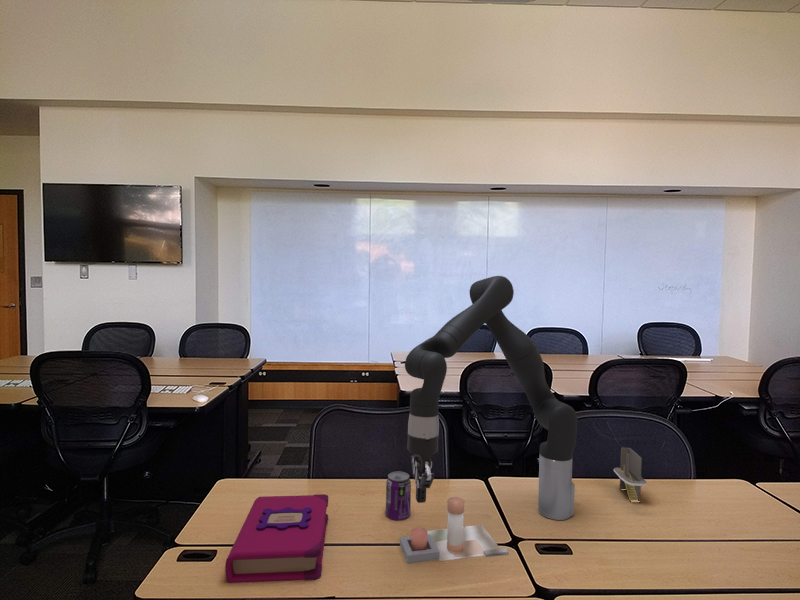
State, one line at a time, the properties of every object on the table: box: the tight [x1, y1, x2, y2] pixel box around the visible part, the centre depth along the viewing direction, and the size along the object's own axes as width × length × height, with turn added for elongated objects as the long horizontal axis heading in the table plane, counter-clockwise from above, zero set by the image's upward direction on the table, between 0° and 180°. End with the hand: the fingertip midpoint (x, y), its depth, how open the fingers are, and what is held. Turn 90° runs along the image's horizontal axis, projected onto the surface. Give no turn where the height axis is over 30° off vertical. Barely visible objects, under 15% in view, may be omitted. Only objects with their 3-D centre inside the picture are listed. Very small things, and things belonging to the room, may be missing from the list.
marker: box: [446, 496, 465, 554], centre depth 115 cm, size 4×4×12 cm
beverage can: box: [385, 471, 412, 521], centre depth 132 cm, size 7×7×12 cm
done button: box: [410, 527, 428, 551], centre depth 114 cm, size 4×4×4 cm
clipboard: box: [427, 524, 510, 562], centre depth 119 cm, size 20×16×1 cm
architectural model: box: [613, 447, 648, 502], centre depth 147 cm, size 20×25×15 cm
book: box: [224, 493, 329, 584], centre depth 117 cm, size 21×28×8 cm
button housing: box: [399, 534, 440, 564], centre depth 114 cm, size 8×8×2 cm
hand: (420, 501), depth 113 cm, fingers closed
